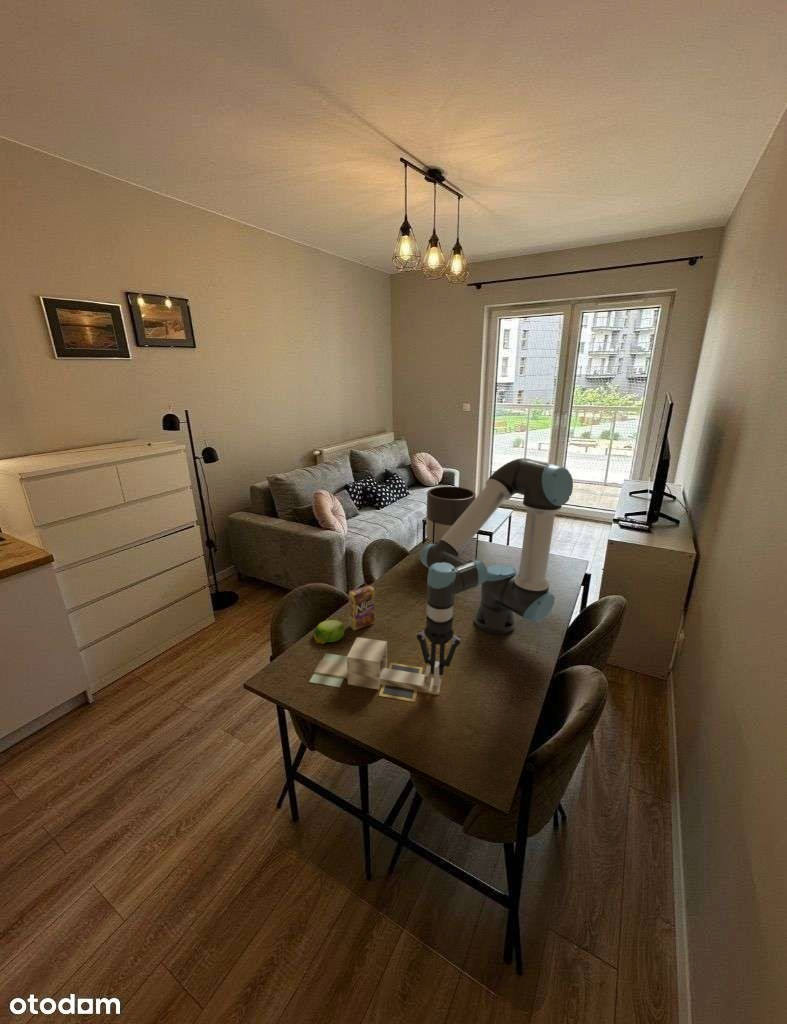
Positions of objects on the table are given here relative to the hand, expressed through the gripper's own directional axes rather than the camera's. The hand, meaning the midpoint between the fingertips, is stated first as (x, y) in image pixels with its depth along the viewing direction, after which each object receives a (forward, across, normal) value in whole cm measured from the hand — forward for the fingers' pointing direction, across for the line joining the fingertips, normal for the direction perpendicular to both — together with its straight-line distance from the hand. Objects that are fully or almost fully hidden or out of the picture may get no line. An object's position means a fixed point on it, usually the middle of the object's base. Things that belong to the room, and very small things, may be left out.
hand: (436, 681), depth 127 cm
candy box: (+2, +32, -26) cm, 41 cm away
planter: (+2, +5, -90) cm, 90 cm away
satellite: (+2, +19, 0) cm, 19 cm away
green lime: (+3, +41, -17) cm, 45 cm away
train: (+1, +14, 0) cm, 14 cm away
